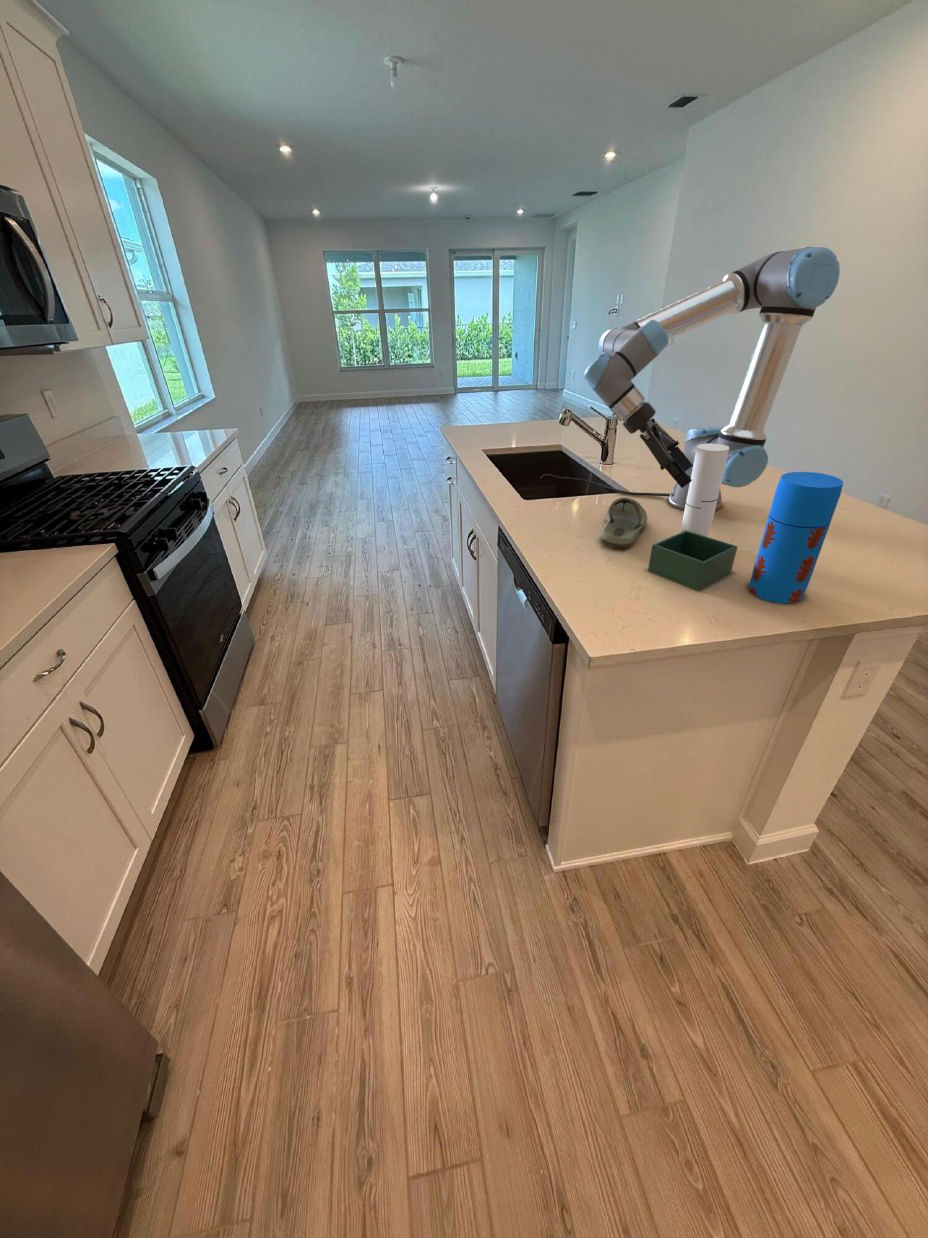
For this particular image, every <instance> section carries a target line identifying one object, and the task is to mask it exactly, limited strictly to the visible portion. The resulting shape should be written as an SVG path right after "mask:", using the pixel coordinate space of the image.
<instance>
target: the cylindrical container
mask: <svg viewBox="0 0 928 1238" xmlns="http://www.w3.org/2000/svg"><path fill="white" fill-rule="evenodd" d="M728 452H729V447H728V446H725V445H721V444H700V445H698V446H697V449H696V454H695V459H694V465H693V470H692V475H691V480H692V481H691V482H690V485H689V490H688V495H687V500H686V505H685V510H683V516H682V520H681V521H682V522H681V527H680V532H683V531H685V530H687V531H690V532H693V533H696V534H700V535H703V536H706V537H709V538H710V534H711V530H712V526H713V522H714V517H715V512H716V510H715V508H716V504H717V500H718V495H719V491H720V490H721V486H722V483H721V482H722V478H723V473H724V469H725V465H726V460H727V456H728ZM680 532H679V533H680Z"/></svg>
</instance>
